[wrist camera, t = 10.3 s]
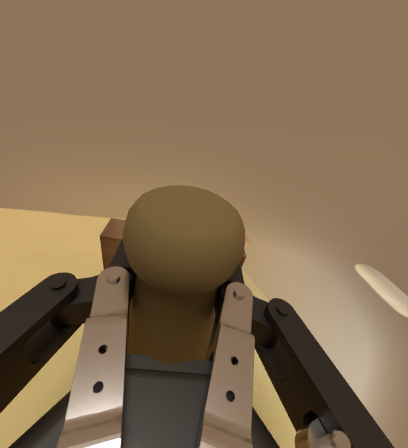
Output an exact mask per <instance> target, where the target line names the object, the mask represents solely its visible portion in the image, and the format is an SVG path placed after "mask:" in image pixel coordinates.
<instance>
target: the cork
mask: <svg viewBox="0 0 408 448" xmlns="http://www.w3.org/2000/svg"><path fill="white" fill-rule="evenodd" d="M123 245H124V249H125V253H126V257H127V260H128V262H129V264H130V267H131V268H132V269H133V271H134V272H135V273H136V274H137V276H136V280H135V285H134V289H133V296H132V299H131V302H130V316H129V344H128V354H137V355H146V356H148V357H151V358H153V359H156V360H158V361H161V362H163V363H166V364H175V363H179V362H184V361H189V360H193V359H195V360H205V357H206V353H207V349H208V345H209V340H210V336H211V331H212V326H213V319H214V313H215V302H216V298H217V290H218V286H220V285H221V284H223V283H224V282H226V281H227V279H228V278H229V277H230V276H231V275H232V274H233V272H234V271H235V269H236V267H237V266H238V264H239V262H240V260H241V258H242V255H243V253H244V245H245V228H244V225H243V222H242V219H241V217H240V215H239V213H238V211H237V210H236V209H235V208H234V207H233V206H232V205H231V204H230V203H229V202H227V201H226V200H224V199H223V198H221V197H220V196H218V195H217V194H214V193H211V192H209V191H207V190H204V189H200V188H196V187H190V186H182V185H180V186H166V187H161V188H156V189H153V190H151V191H149V192H146V193H144V194H143V195H142V196H141V197H140V198H139V199H138V200H137V201H136V202H135V203H134V204H133V206H132V207H131V208H130V209H129V212H128V215H127V218H126V221H125V225H124V228H123Z"/></svg>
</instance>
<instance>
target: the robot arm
mask: <svg viewBox="0 0 408 448" xmlns="http://www.w3.org/2000/svg"><path fill="white" fill-rule="evenodd" d="M136 276H137V274H136V273H135V272H134V271H133V269H132V268H131V267H130V264H129V262H128V260H127V257H126V253H125V249H124V245H123V239H122V240H121V242H120V244H119V247H118V248H117V250H116V252H115V254H114V256H113V258H112V260H111V262H110V264H109V266H108V268H107V269H105V270H103V271H102V272H101V273H100V274H99V275H97V276H94V277H90V278H82V279H76V277H75V276H74V275H73V274H70V273H57V274H54V275H51V276H49V277H47V278H46V279H44V280H43V281H42V282H40V283H39V284H38V285H36V286H35V287H34V288H32V289H31V290H30V291H28V292H27V293H26V294H24V295H23V296H21V297H20V298H19V299H17V300H16V301H15V302H13V303H12V304H11V305H9V306H8V307H7V308H5V309H4V310H3V311H1V312H0V413H1V412H2V411H3V410H4V409H5V408H6V407H7V405H8V404H9V403H10V402H11V401H12V400H13V399H14V398H15V397H16V396H17V395H18V393H19V392H20V391H21V390H22V389H23V388H24V387H25V386H26V385H27V384H28V383H29V381H30V380H31V379H32V378H33V377H34V376H35V375H36V374H37V373H38V372H39V371H40V369H41V368H42V367H43V366H44V365H45V364H46V363H47V362H48V361H49V360H50V359H51V357H52V356H53V355H54V354H55V353H56V352H57V351H58V350H59V349H60V348H61V347H62V345H63V344H64V343H65V342H66V341H67V340H68V339H69V338H70V337H71V336H72V335H73V333H74V332H75V331H76V330H77V329H78V328H79V327H80V326H81V325H82V324H83V323H85V326H84V331H83V336H82V341H81V346H80V351H79V355H78V360H77V365H76V370H75V375H74V380H73V385H72V389H71V391H70V392H69V393H67V394H66V395H65V396H64V397H63V398H62V399H61V400H60V401H59V402H58V403H57V404H55V405H54V406H53V407H52V408H51V409H50V410H49V411H48V412H47V413H46V414H45V415H43V416H42V417H41V418H40V419H39V420H38V421H37V422H36V423H35V424H34V425H33V426H31V427H30V428H29V429H28V430H27V431H26V432H25V433H24V434H23V435H22V436H20V437H19V438H18V439H17V440H16V441H15V442H14V443H13V444H12V445H11V446H10V447H8V448H280V447H279V446H278V444H277V443H276V441H275V440H274V438H273V437H272V435H271V434H270V432H269V431H268V429H267V428H266V426H265V425H264V423H263V422H262V420H261V419H260V417H259V416H258V414H257V412H256V411H255V409H254V408H253V406H252V396H253V371H254V347H255V349H256V351H257V353H258V355H259V357H260V359H261V361H262V363H263V365H264V367H265V370H266V372H267V374H268V376H269V378H270V380H271V382H272V384H273V386H274V388H275V390H276V392H277V394H278V396H279V398H280V400H281V402H282V404H283V406H284V408H285V410H286V412H287V414H288V416H289V418H290V420H291V422H292V424H293V426H294V428H295V430H296V432H297V433H296V436H295V448H394V447H393V445H392V444H391V442H390V441H389V440H388V438H387V437H386V436H385V434H384V433H383V431H382V430H381V429H380V427H379V426H378V425H377V423H376V422H375V420H374V419H373V418H372V416H371V415H370V414H369V412H368V411H367V409H366V408H365V407H364V405H363V404H362V402H361V401H360V400H359V398H358V397H357V396H356V394H355V393H354V392H353V390H352V389H351V387H350V386H349V385H348V383H347V382H346V380H345V379H344V378H343V377H342V375H341V374H340V372H339V371H338V369H337V368H336V367H335V365H334V364H333V363H332V361H331V360H330V358H329V357H328V356H327V354H326V353H325V351H324V350H323V349H322V347H321V346H320V345H319V343H318V342H317V341H316V339H315V338H314V336H313V335H312V334H311V332H310V331H309V329H308V328H307V327H306V325H305V324H304V322H303V321H302V320H301V318H300V317H299V316H298V314H297V313H296V311H295V310H294V309H293V307H292V306H291V305H290V304H289V303H287V302H286V301H284V300H282V299H279V298H274V299H272V300H270V301H269V303H268V302H266V301H263V300H261V299H258V298H256V297H254V296H253V295H252V292H251V290H250V289H249V288H248V287H247V286H246V285H245V284H244V280H243V274H242V269H241V265H240V262H239V264H238V266H237V267H236V269H235V271H234V272H233V274H232V275H231V276H230V277H229V278H228V279H227V281H226V282H224V283H223V284H221V285H220V286H218V290H217V298H216V302H215V318H214V322H213V327H212V331H211V336H210V340H209V345H208V349H207V353H206V357H205V360H195V359H193V360H189V361H184V362H179V363H175V364H166V363H163V362H161V361H158V360H156V359H153V358H151V357H148V356H146V355H137V354H128V344H129V316H130V302H131V299H132V296H133V289H134V285H135V280H136Z"/></svg>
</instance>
